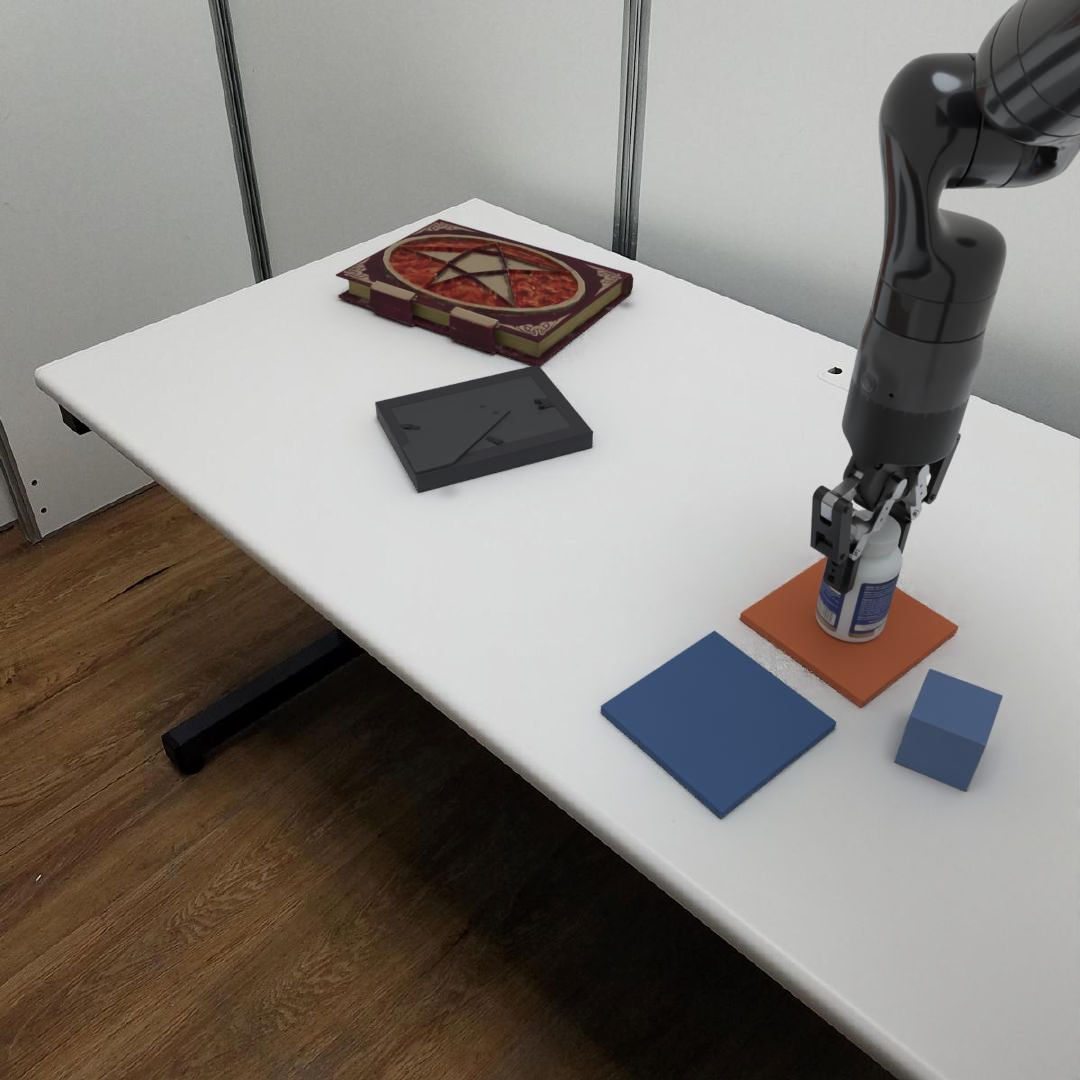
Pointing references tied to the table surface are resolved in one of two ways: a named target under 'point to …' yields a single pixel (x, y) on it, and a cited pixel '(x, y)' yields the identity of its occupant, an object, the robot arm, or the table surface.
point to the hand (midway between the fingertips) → (862, 568)
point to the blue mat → (718, 722)
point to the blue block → (948, 729)
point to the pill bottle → (864, 588)
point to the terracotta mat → (840, 662)
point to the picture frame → (481, 427)
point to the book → (486, 290)
